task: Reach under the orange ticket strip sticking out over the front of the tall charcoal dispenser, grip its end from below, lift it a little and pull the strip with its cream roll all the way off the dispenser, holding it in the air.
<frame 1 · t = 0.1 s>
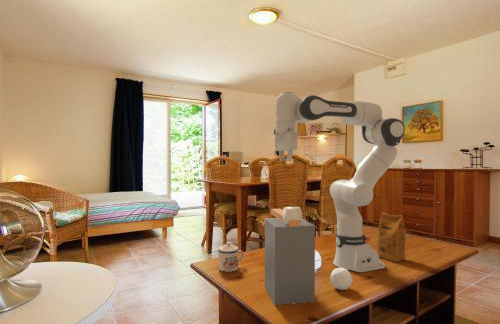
hand: (285, 161, 127), 48 cm above the table, tool pointing down, fingers open, 8 cm apart
dispenser: (288, 294, 103), on the table
teacup with lid: (231, 268, 129), on the table
coffee package: (390, 258, 142), on the table
geometric ball: (341, 289, 108), on the table
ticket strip: (284, 219, 108), point 26 cm above the table, touching dispenser
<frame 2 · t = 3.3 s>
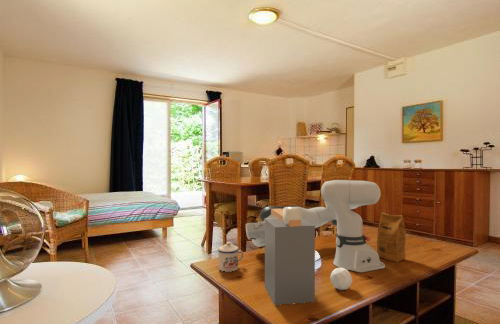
hand: (270, 222, 128), 20 cm above the table, tool pointing upward, fingers open, 8 cm apart
nothing on the table moved.
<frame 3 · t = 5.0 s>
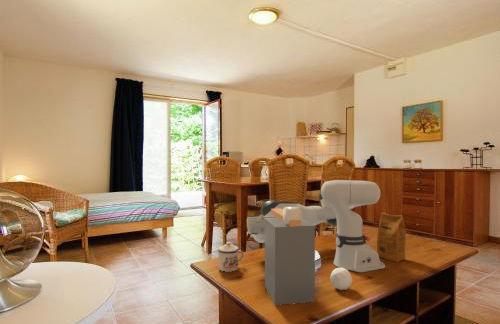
hand: (273, 216, 121), 25 cm above the table, tool pointing upward, fingers open, 8 cm apart
nothing on the table moved.
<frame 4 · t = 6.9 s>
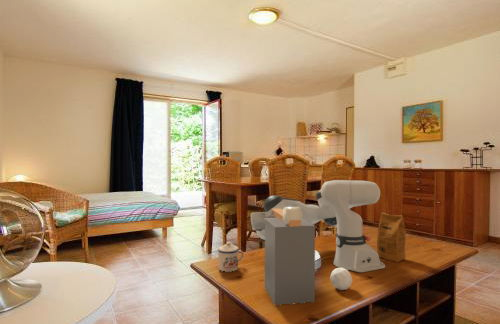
hand: (278, 211, 116), 27 cm above the table, tool pointing upward, fingers closed on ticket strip, 4 cm apart
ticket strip: (284, 219, 108), point 26 cm above the table, touching dispenser, gripper
everything else where it was.
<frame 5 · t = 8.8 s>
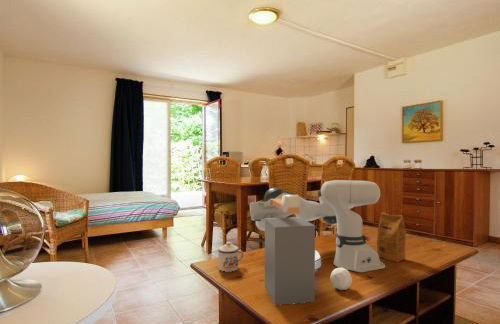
hand: (277, 201, 117), 31 cm above the table, tool pointing upward, fingers closed on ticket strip, 4 cm apart
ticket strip: (283, 208, 109), point 30 cm above the table, touching gripper
everything else where it was.
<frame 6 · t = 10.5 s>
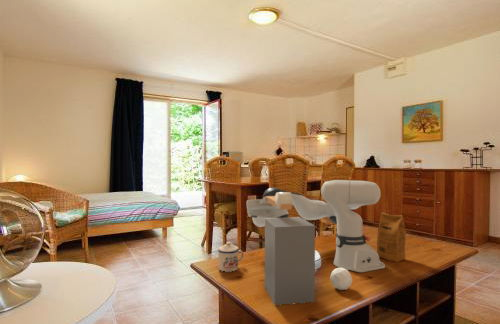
hand: (271, 198, 126), 31 cm above the table, tool pointing upward, fingers closed on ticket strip, 4 cm apart
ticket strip: (277, 204, 118), point 30 cm above the table, touching gripper
everything else where it was.
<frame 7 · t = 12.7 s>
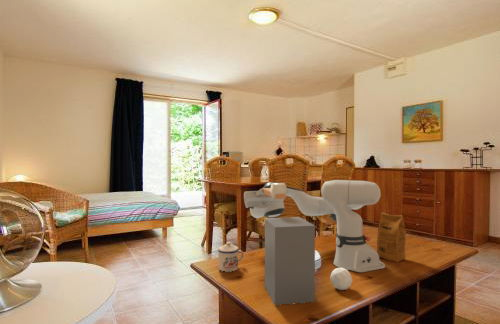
hand: (267, 190, 133), 34 cm above the table, tool pointing upward, fingers closed on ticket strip, 4 cm apart
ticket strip: (272, 195, 125), point 33 cm above the table, touching gripper
everything else where it was.
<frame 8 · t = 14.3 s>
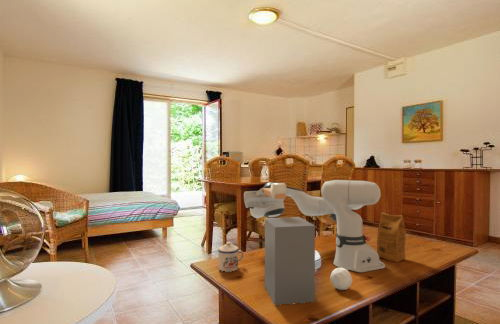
hand: (267, 190, 133), 34 cm above the table, tool pointing upward, fingers closed on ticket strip, 4 cm apart
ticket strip: (272, 195, 125), point 33 cm above the table, touching gripper
everything else where it was.
at the end: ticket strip moved 18.3 cm from its start; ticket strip touching gripper; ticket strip point 33.0 cm above the table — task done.
